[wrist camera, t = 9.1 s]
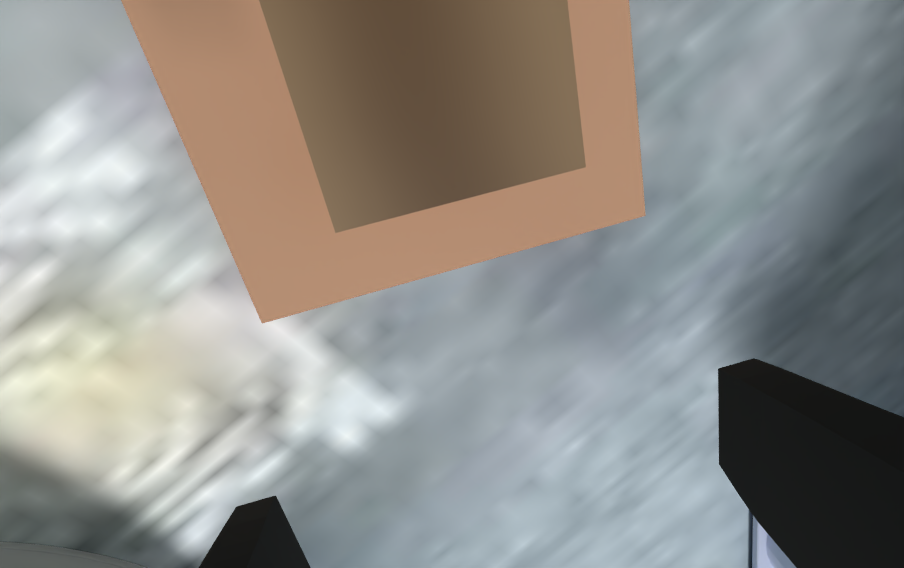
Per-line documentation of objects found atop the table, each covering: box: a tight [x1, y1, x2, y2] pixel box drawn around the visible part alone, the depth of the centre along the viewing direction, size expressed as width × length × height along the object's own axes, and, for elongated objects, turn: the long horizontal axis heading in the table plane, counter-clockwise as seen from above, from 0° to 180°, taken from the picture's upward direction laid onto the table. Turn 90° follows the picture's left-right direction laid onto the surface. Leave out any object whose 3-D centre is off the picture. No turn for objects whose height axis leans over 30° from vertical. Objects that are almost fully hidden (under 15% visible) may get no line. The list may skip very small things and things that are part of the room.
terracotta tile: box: [121, 0, 645, 323], centre depth 14 cm, size 12×12×1 cm
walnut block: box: [259, 0, 586, 233], centre depth 12 cm, size 5×5×5 cm
